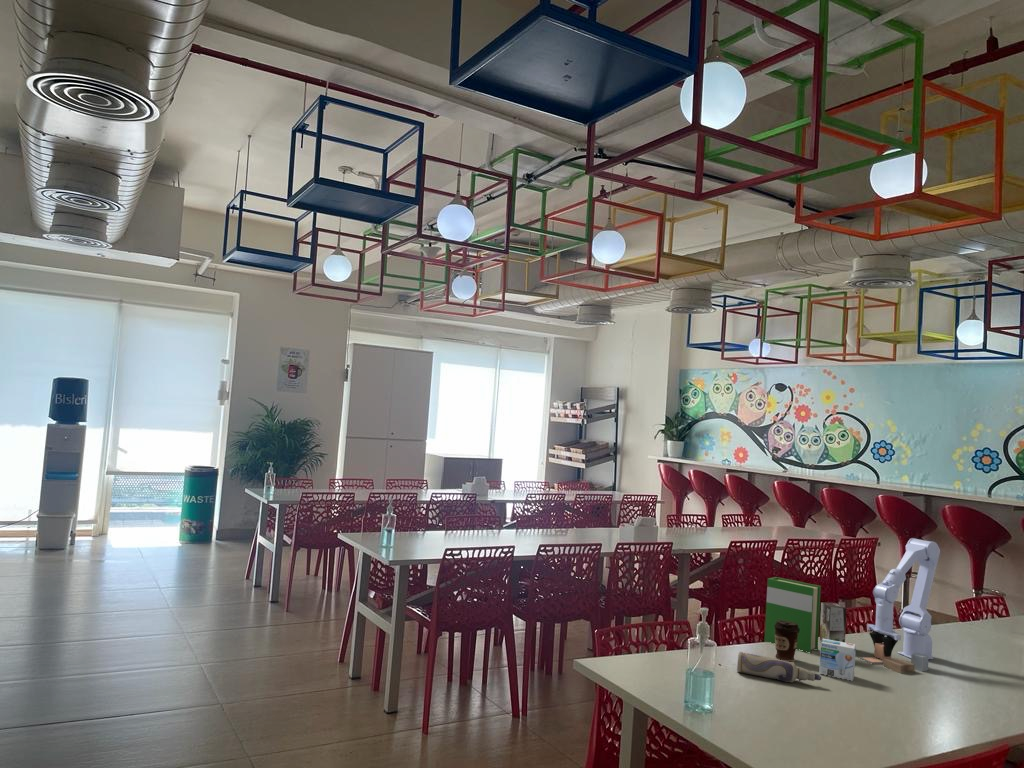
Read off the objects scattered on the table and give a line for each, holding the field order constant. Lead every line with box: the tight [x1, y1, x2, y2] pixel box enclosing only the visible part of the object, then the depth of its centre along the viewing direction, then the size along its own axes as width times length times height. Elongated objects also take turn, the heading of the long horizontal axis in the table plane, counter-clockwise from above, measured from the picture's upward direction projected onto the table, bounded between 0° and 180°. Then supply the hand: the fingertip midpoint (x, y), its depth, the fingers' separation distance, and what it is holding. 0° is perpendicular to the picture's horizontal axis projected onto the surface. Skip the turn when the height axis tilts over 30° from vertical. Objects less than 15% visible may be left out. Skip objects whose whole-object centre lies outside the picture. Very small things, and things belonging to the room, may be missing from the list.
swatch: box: [857, 656, 883, 665], centre depth 266 cm, size 7×7×1 cm
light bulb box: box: [818, 638, 856, 682], centre depth 246 cm, size 11×7×11 cm, turn 62°
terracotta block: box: [873, 643, 892, 661], centre depth 271 cm, size 4×4×5 cm
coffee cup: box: [774, 620, 800, 662], centre depth 260 cm, size 9×8×13 cm
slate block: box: [910, 653, 929, 672], centre depth 260 cm, size 4×4×5 cm
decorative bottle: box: [736, 651, 822, 684], centre depth 237 cm, size 26×8×7 cm, turn 67°
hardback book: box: [763, 576, 822, 653], centre depth 280 cm, size 18×7×24 cm, turn 45°
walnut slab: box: [882, 657, 916, 674], centre depth 258 cm, size 7×7×3 cm
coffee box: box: [819, 601, 847, 644], centre depth 282 cm, size 9×6×16 cm
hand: (882, 654), depth 271 cm, fingers closed on terracotta block, 4 cm apart
